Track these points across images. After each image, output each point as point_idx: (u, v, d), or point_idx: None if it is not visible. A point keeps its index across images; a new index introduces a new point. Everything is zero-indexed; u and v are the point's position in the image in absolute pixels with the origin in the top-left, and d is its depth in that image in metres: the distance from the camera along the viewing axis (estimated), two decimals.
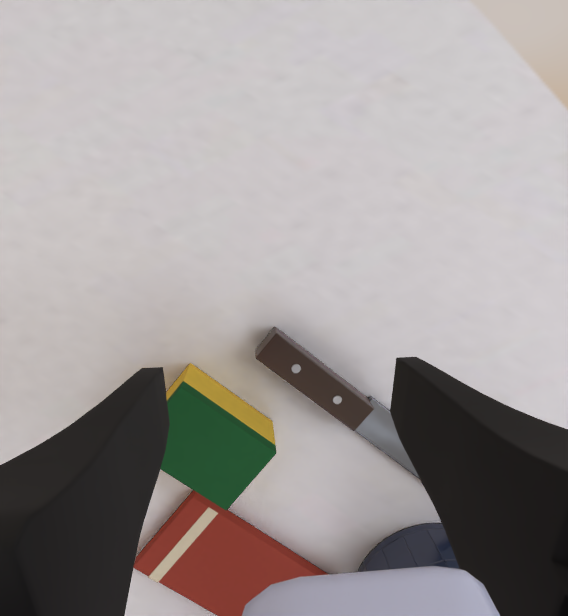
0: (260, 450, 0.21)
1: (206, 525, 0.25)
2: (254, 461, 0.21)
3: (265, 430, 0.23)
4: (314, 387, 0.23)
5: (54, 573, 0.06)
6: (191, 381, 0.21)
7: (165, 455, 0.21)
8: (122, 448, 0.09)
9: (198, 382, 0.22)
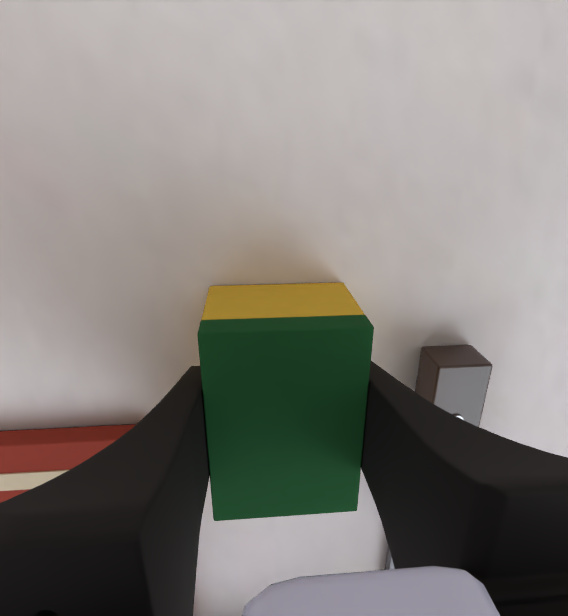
0: (346, 492, 0.12)
1: None
2: (323, 498, 0.12)
3: None
4: None
5: (158, 565, 0.06)
6: None
7: (234, 389, 0.10)
8: (189, 444, 0.09)
9: None
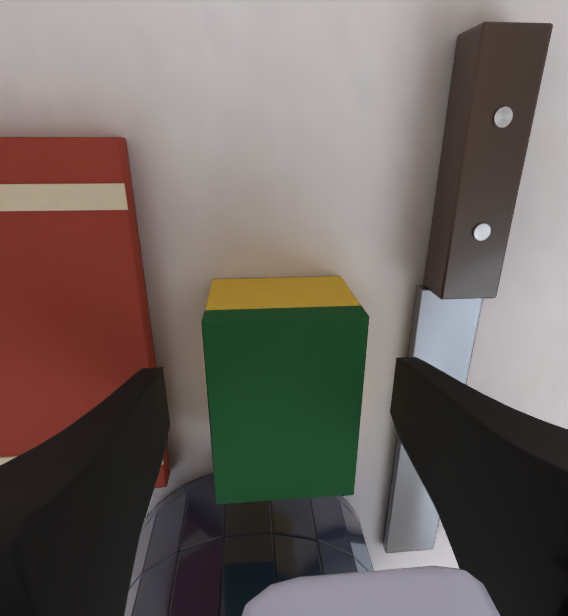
0: (343, 477, 0.12)
1: (88, 208, 0.11)
2: (321, 482, 0.12)
3: None
4: (483, 178, 0.11)
5: (54, 573, 0.06)
6: None
7: (236, 376, 0.11)
8: (122, 448, 0.09)
9: None
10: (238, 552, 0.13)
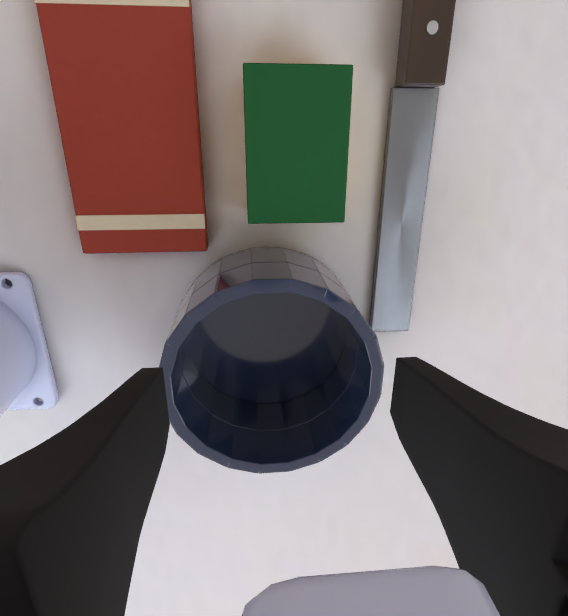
0: (337, 204, 0.18)
1: (162, 4, 0.17)
2: (321, 208, 0.18)
3: None
4: None
5: (54, 573, 0.06)
6: None
7: (264, 109, 0.16)
8: (122, 448, 0.09)
9: None
10: (262, 266, 0.18)
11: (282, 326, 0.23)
